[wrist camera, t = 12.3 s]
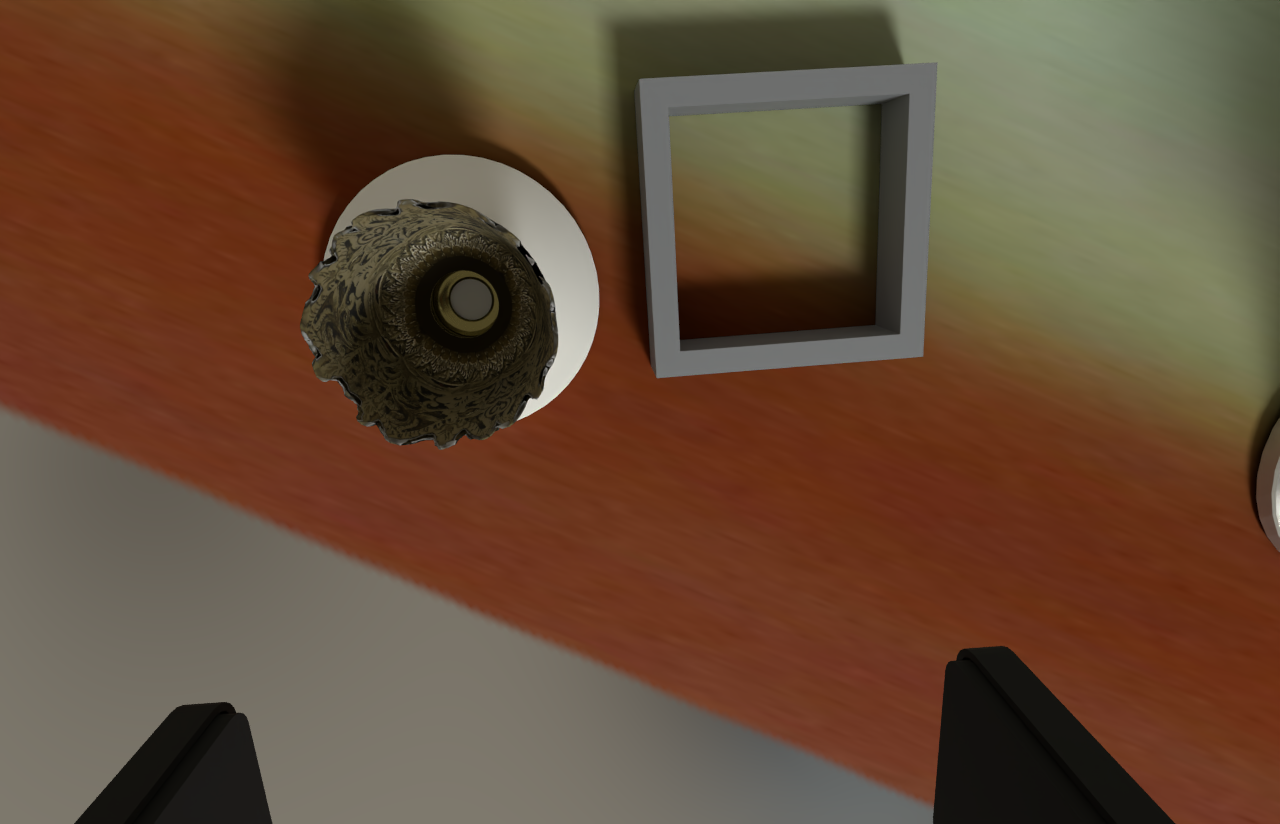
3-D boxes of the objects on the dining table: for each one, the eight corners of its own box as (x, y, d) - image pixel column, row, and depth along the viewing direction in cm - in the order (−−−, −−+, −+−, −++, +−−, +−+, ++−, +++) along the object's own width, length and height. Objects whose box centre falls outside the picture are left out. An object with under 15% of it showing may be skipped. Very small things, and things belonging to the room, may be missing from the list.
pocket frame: (906, 75, 28) (937, 62, 26) (896, 345, 31) (923, 356, 29) (634, 90, 27) (639, 78, 25) (650, 365, 30) (656, 378, 28)
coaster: (587, 147, 28) (587, 146, 27) (608, 412, 31) (609, 418, 30) (304, 165, 27) (296, 163, 26) (354, 434, 30) (348, 439, 29)
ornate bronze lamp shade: (338, 267, 28) (243, 288, 20) (494, 166, 27) (460, 146, 19) (449, 420, 30) (403, 493, 22) (597, 329, 29) (603, 370, 21)
